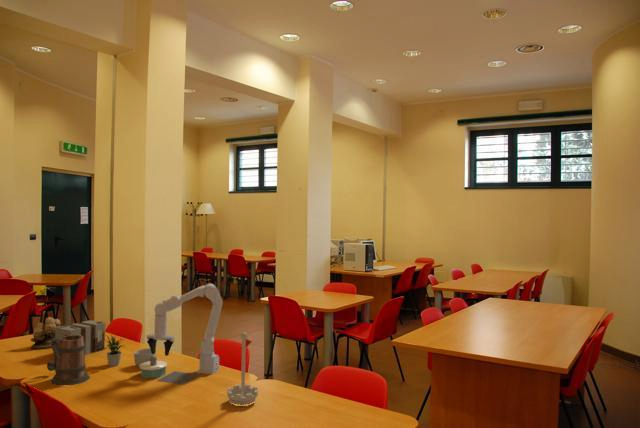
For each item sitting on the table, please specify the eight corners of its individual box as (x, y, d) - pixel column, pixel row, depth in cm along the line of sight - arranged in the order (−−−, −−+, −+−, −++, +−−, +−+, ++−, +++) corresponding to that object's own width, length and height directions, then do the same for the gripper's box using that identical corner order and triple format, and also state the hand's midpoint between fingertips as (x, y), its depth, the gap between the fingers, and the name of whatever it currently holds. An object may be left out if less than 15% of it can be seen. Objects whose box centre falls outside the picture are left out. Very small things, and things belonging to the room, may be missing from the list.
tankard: (97, 377, 237) (98, 335, 237) (67, 388, 222) (68, 344, 222) (64, 369, 247) (65, 329, 247) (32, 379, 232) (33, 337, 231)
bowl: (169, 372, 246) (169, 363, 246) (156, 379, 236) (156, 370, 236) (150, 370, 249) (150, 361, 249) (136, 377, 239) (136, 367, 239)
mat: (200, 375, 243) (200, 374, 243) (184, 385, 229) (184, 384, 229) (174, 372, 248) (174, 371, 248) (156, 381, 233) (156, 380, 233)
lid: (172, 363, 247) (172, 354, 247) (156, 371, 234) (157, 361, 234) (150, 360, 250) (150, 351, 250) (133, 368, 238) (133, 358, 238)
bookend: (108, 349, 284) (108, 321, 284) (69, 361, 261) (70, 330, 261) (89, 345, 291) (89, 318, 291) (49, 356, 268) (50, 326, 268)
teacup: (148, 370, 249) (149, 354, 249) (129, 368, 252) (129, 352, 252) (162, 362, 263) (163, 347, 263) (144, 360, 265) (144, 345, 265)
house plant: (90, 366, 253) (90, 334, 253) (110, 359, 265) (111, 329, 265) (111, 370, 247) (112, 338, 247) (131, 363, 260) (132, 332, 260)
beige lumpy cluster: (58, 341, 298) (59, 313, 298) (68, 344, 292) (69, 316, 291) (26, 347, 283) (27, 317, 283) (36, 351, 277) (37, 321, 277)
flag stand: (244, 410, 203) (245, 337, 202) (220, 403, 209) (222, 332, 209) (263, 400, 214) (265, 331, 214) (241, 394, 221) (242, 327, 220)
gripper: (143, 327, 242) (142, 355, 242) (168, 330, 238) (168, 358, 238) (151, 324, 249) (151, 351, 249) (176, 327, 245) (176, 354, 245)
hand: (160, 354), depth 244 cm, fingers open, 7 cm apart
